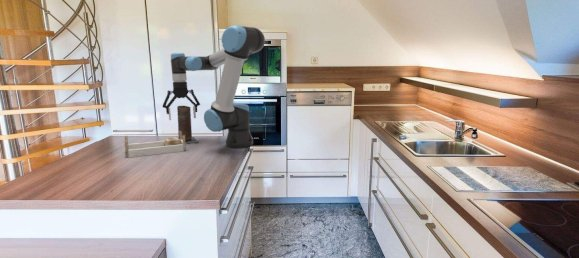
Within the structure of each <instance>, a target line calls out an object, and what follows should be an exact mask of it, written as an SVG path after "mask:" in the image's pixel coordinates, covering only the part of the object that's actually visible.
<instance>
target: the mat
mask: <svg viewBox="0 0 579 258" xmlns="http://www.w3.org/2000/svg"><path fill="white" fill-rule="evenodd" d="M177 138H178V139H179V137H177ZM185 143H186V145H189V144H199V141H198V140H197V138H195V136H192V139H191V140H188V141H185Z"/></svg>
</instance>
